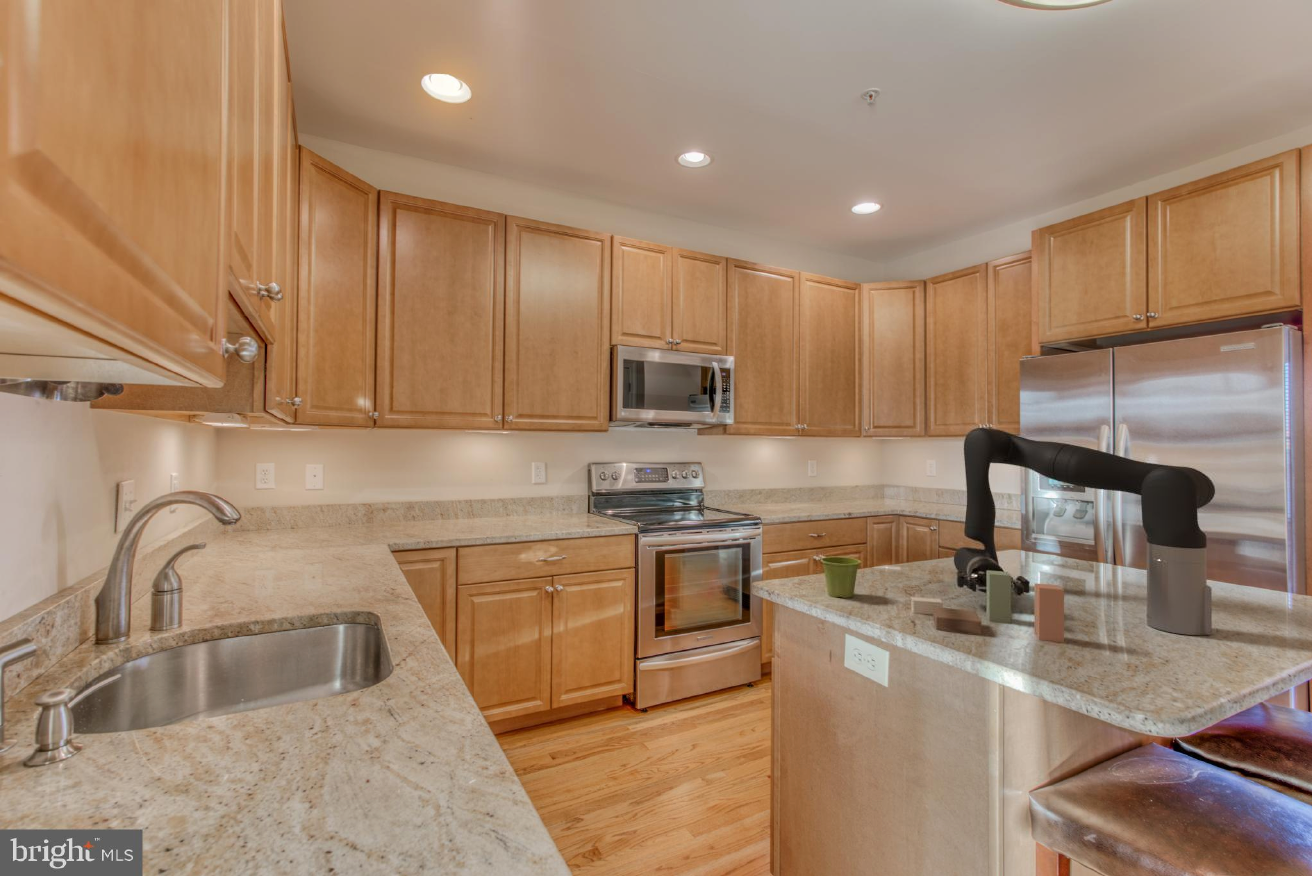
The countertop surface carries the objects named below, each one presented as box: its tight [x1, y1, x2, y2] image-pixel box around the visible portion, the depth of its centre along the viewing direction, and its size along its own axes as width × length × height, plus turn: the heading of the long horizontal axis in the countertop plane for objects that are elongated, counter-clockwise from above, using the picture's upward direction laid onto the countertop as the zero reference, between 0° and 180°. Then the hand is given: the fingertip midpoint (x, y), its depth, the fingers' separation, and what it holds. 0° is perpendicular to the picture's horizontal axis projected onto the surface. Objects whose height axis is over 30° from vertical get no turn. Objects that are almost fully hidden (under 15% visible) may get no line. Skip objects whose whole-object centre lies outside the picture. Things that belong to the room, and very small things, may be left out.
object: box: [820, 556, 861, 599], centre depth 146 cm, size 9×9×9 cm
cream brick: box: [910, 596, 944, 615], centre depth 132 cm, size 6×3×3 cm, turn 75°
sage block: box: [985, 570, 1012, 624], centre depth 127 cm, size 4×4×10 cm
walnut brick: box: [932, 607, 982, 636], centre depth 122 cm, size 8×8×3 cm
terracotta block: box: [1033, 582, 1065, 643], centre depth 115 cm, size 4×4×10 cm
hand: (996, 589), depth 129 cm, fingers open, 8 cm apart
